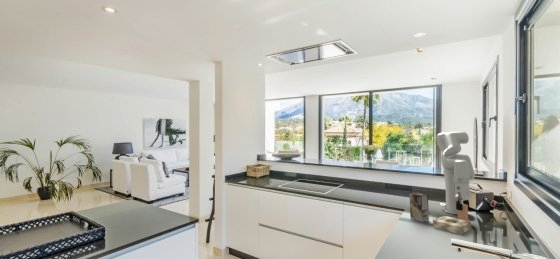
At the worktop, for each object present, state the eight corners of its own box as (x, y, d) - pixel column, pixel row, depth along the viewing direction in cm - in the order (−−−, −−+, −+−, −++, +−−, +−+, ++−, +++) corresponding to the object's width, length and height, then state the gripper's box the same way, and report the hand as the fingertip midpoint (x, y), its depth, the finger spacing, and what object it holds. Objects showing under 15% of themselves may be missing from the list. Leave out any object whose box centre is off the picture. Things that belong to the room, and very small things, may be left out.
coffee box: (429, 220, 159) (428, 195, 160) (422, 222, 157) (421, 196, 157) (416, 216, 168) (415, 192, 168) (409, 218, 165) (409, 193, 166)
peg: (457, 222, 156) (457, 204, 156) (460, 221, 158) (460, 203, 158) (465, 224, 152) (464, 205, 153) (468, 222, 155) (467, 204, 155)
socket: (433, 227, 149) (433, 220, 149) (444, 222, 157) (444, 215, 157) (460, 234, 137) (460, 227, 137) (471, 228, 145) (471, 221, 145)
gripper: (462, 182, 148) (464, 212, 147) (474, 180, 157) (475, 208, 156) (448, 181, 154) (449, 209, 153) (460, 178, 163) (461, 205, 163)
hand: (462, 208), depth 155 cm, fingers open, 9 cm apart
